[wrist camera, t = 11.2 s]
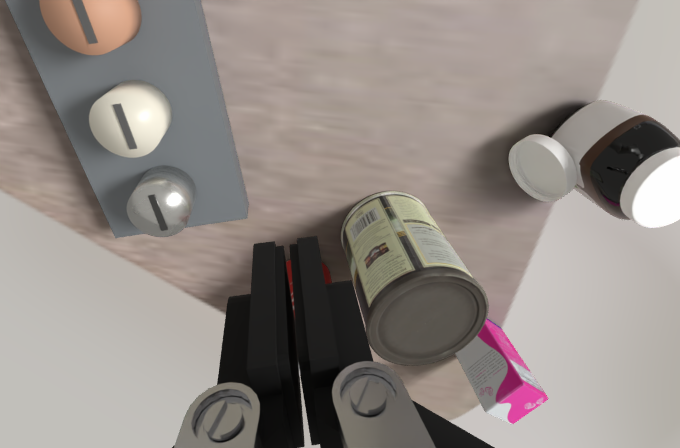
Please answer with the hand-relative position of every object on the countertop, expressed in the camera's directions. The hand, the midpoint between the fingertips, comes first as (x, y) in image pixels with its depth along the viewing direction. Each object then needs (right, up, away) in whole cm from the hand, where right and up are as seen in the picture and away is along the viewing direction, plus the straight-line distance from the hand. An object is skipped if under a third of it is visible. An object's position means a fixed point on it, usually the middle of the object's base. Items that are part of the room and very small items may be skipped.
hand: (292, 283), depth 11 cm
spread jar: (+25, +10, +32) cm, 41 cm away
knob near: (-15, +18, +19) cm, 30 cm away
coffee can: (+6, +1, +34) cm, 35 cm away
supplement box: (+20, -13, +45) cm, 51 cm away
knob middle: (-15, +12, +23) cm, 30 cm away
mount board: (-15, +12, +23) cm, 30 cm away
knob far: (-14, +6, +27) cm, 31 cm away
